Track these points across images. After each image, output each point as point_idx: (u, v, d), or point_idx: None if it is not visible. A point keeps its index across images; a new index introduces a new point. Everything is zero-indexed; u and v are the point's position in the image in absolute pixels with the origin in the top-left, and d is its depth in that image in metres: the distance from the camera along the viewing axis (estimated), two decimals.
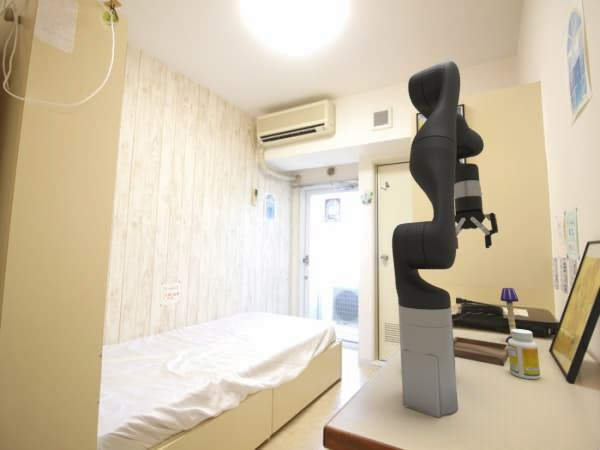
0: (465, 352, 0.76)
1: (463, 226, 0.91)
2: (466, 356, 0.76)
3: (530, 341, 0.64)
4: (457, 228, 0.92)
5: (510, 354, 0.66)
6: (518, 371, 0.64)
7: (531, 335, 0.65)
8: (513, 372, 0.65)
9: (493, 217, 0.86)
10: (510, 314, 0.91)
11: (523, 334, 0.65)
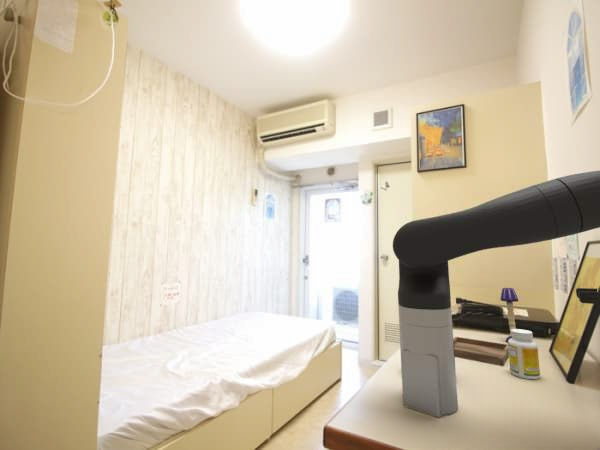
0: (465, 352, 0.76)
1: None
2: (466, 356, 0.76)
3: (530, 341, 0.64)
4: None
5: (510, 354, 0.66)
6: (518, 371, 0.64)
7: (531, 335, 0.65)
8: (513, 372, 0.65)
9: None
10: (510, 314, 0.91)
11: (523, 334, 0.65)
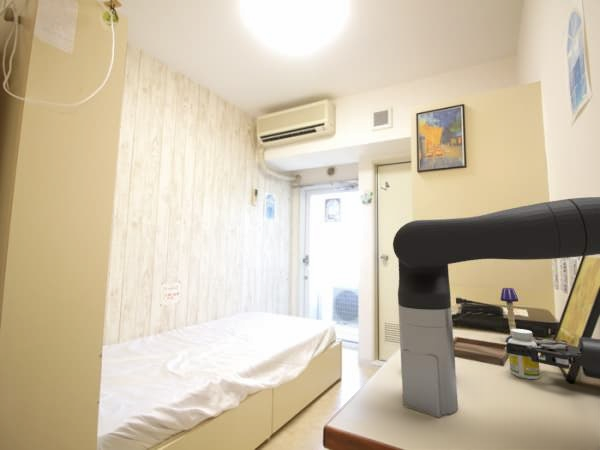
0: (465, 352, 0.76)
1: (551, 345, 0.64)
2: (466, 356, 0.76)
3: (530, 341, 0.65)
4: (545, 340, 0.65)
5: None
6: (518, 371, 0.64)
7: (531, 335, 0.65)
8: (513, 372, 0.65)
9: (557, 353, 0.57)
10: (510, 314, 0.91)
11: (523, 334, 0.65)
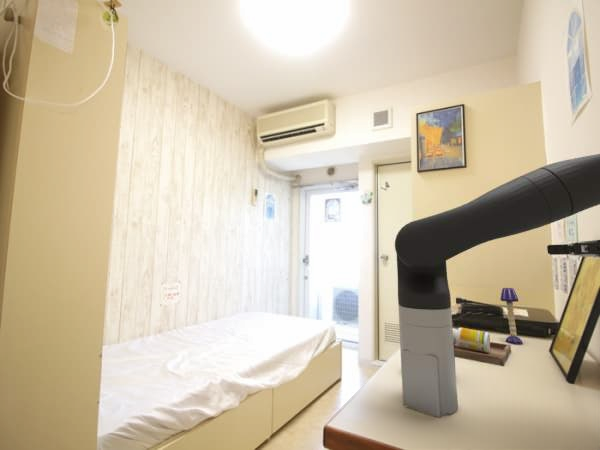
0: (465, 352, 0.76)
1: None
2: (466, 356, 0.76)
3: (456, 331, 0.84)
4: None
5: (469, 348, 0.81)
6: (481, 347, 0.78)
7: None
8: (484, 351, 0.78)
9: None
10: (510, 314, 0.91)
11: None
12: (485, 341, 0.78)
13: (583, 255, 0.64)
